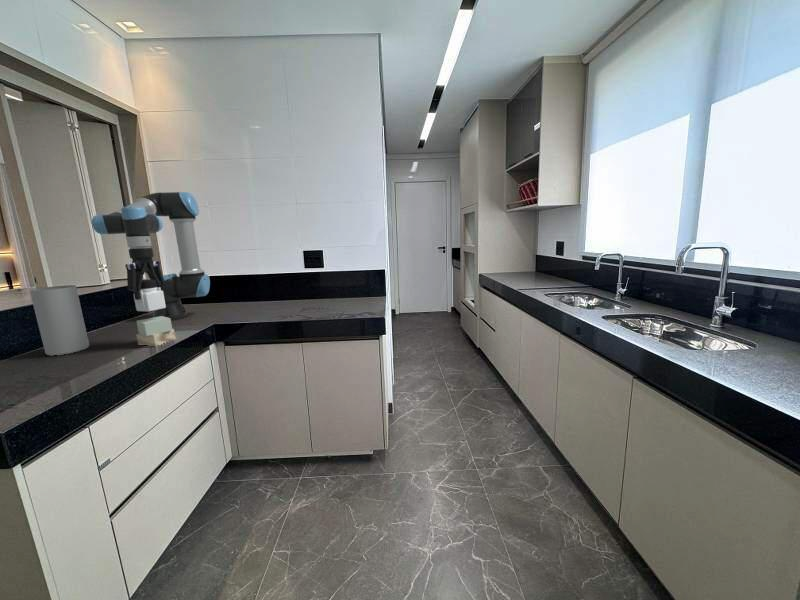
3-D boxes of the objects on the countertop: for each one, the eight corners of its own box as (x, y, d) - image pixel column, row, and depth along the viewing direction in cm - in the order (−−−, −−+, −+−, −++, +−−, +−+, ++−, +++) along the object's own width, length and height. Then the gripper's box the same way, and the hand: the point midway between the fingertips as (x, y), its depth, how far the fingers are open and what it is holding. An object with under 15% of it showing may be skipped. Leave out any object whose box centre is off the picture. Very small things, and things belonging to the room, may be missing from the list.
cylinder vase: (95, 348, 136) (81, 286, 132) (52, 358, 126) (35, 291, 121) (82, 344, 143) (69, 284, 138) (41, 353, 132) (24, 289, 127)
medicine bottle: (166, 307, 140) (161, 278, 137) (148, 311, 133) (143, 281, 131) (154, 307, 142) (148, 278, 140) (136, 311, 135) (130, 281, 133)
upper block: (163, 327, 146) (161, 315, 145) (172, 330, 140) (170, 318, 139) (138, 332, 139) (136, 320, 138) (146, 336, 133) (144, 323, 132)
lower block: (159, 339, 146) (157, 328, 145) (176, 340, 144) (174, 328, 143) (138, 346, 138) (136, 334, 137) (155, 347, 135) (153, 335, 134)
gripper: (125, 248, 122) (137, 310, 127) (169, 246, 143) (178, 299, 147) (106, 249, 123) (118, 311, 127) (152, 247, 144) (162, 300, 148)
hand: (150, 305), depth 137 cm, fingers closed on medicine bottle, 8 cm apart
